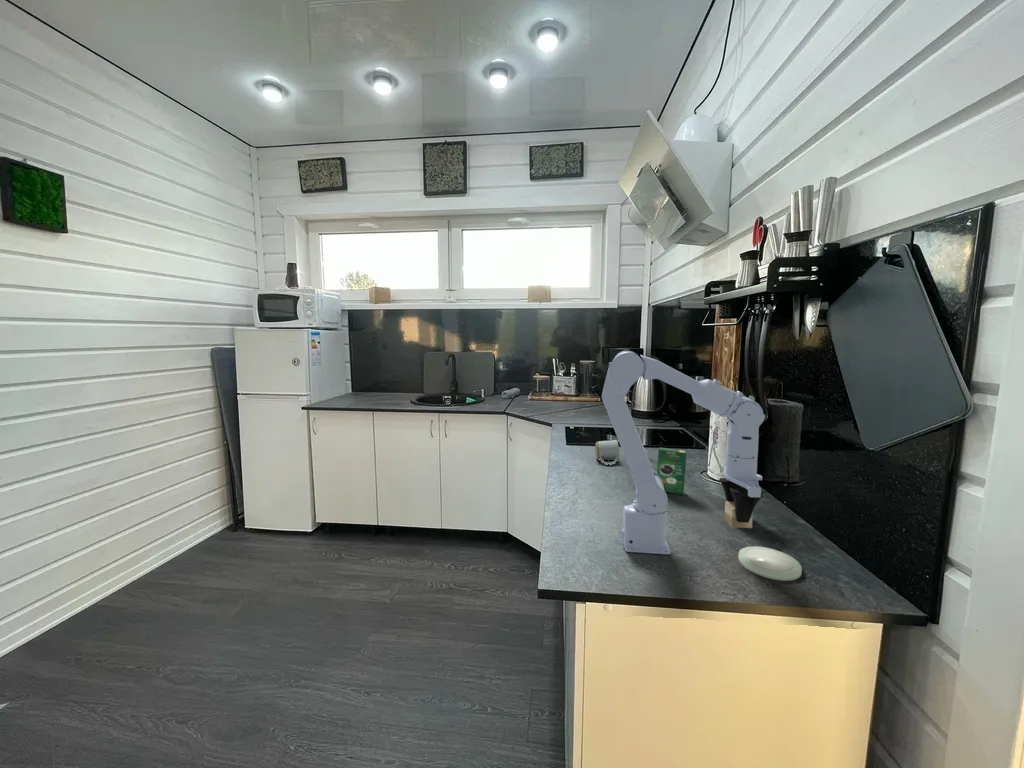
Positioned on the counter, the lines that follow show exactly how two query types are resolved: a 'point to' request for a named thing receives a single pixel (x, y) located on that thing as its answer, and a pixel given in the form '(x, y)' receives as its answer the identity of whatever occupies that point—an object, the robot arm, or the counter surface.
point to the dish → (770, 563)
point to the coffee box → (672, 469)
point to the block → (731, 516)
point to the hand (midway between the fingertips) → (738, 516)
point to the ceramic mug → (607, 450)
